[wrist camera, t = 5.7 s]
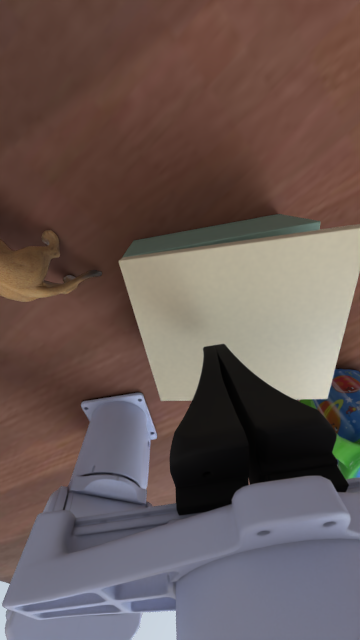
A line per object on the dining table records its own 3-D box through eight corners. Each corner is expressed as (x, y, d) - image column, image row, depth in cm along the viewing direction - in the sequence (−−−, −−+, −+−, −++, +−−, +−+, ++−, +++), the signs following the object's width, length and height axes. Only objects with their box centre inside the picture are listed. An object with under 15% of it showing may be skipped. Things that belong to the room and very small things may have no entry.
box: (279, 213, 19) (321, 220, 14) (272, 335, 25) (299, 371, 20) (133, 240, 19) (121, 257, 14) (162, 354, 25) (161, 393, 20)
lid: (362, 223, 11) (372, 225, 11) (323, 391, 18) (327, 399, 17) (122, 257, 14) (117, 260, 13) (162, 393, 20) (160, 401, 20)
